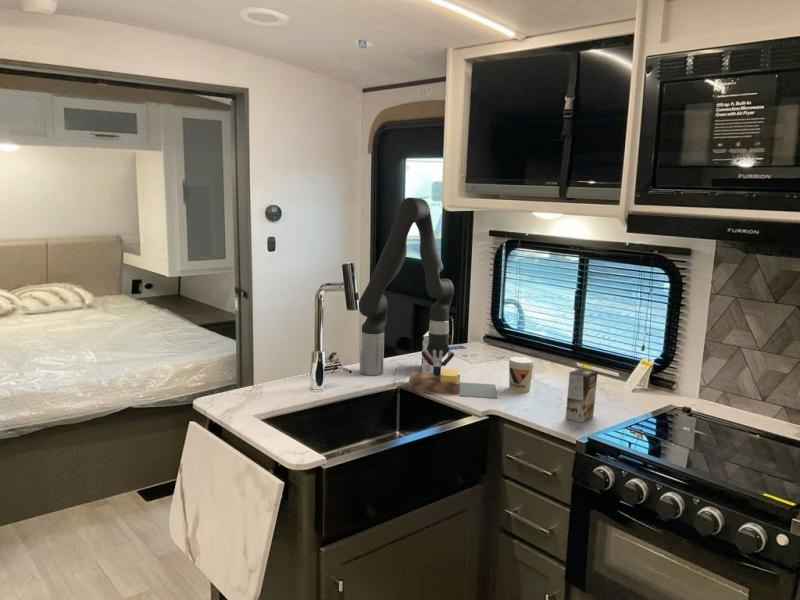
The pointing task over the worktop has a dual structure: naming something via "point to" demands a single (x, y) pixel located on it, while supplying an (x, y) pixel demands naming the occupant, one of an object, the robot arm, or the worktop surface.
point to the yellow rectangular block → (449, 375)
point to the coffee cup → (520, 374)
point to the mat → (478, 390)
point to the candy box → (425, 366)
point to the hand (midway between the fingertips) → (436, 375)
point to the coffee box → (581, 394)
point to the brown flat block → (432, 384)
